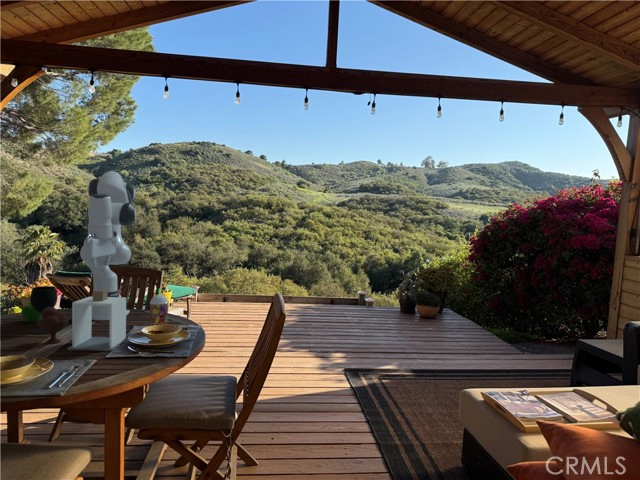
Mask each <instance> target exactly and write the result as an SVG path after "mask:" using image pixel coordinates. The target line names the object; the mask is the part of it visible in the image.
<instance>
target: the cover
mask: <svg viewBox="0 0 640 480" xmlns="http://www.w3.org/2000/svg"><path fill="white" fill-rule="evenodd" d="M92 294H93V295H92V296H88V297H85V298H82V299H79V300H76V301H73V302H72V304H71V305H72V306H71V308H72V311H71V312H72V313H71V315H72V317H71V319H72V328H71V330H72V332H71V334H72V335H71V337H72V339H71V341H72V342H71V343H72V345H71V346H72V347H75V346H77V345H79V344H81V343H83V342H85V341H87V340H88V339H90V338H91V337H92V306H110V320H109V331H108V332H109V335H108V336H109V348H112V347H114V346H115V345H117V344H119V343H120V342H122V341H123V340H124V339H125V338H127V315H126V310H127V297H120V296H119V297H108V290H95V291H94V290H93V291H92Z"/></svg>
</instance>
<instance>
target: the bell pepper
mask: <svg viewBox="0 0 640 480" xmlns="http://www.w3.org/2000/svg"><path fill="white" fill-rule="evenodd" d="M25 304H26V306H22V308H21V315H22V318H23V321H24V322H25V323H27V324H30V323H38V321H39V320H41V319H42V316H41V313H40V312H38V311H36V310H35V309H34V308H33V307H32V305H31V302H30V301H27V302H25Z"/></svg>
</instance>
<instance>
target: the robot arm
mask: <svg viewBox="0 0 640 480" xmlns="http://www.w3.org/2000/svg"><path fill="white" fill-rule="evenodd" d="M87 193H88V197H89V199H88V207H87V208H86V219H87V220H88V224H87V236H86V238H85V239H84V242H83V245H82V247H81V248H80V251H79V252H80V253H79V256H80V258H81V260H82V261H83V262H84V263H85V264H86V265H87V266H88V267H89V269H90V271H91V273H92V278H93V291H95V290H108V297H120V294H121V292H122V291H121V290H122V289H118V275H117V274H116V273H115V272H114V271H112V270H111V268H110V267H109V266H110V265H115V266H116V265H117V266H118V265H122V264H127V263H128V262H129V261H130V259H131V257H132V252H131V249H130V246H128V245H127V244H126V243H125V241H124V240H123V238H122V233H121V231H122V226H126V227H130V226H131V225H133V224H134V223H135V222H136V219H137V210H136V208H135V205H134V202H133V201H134V199H135V198H136V195H137V190H136V187H135V185H134V184H133V183H130V182H127V181H126V182H125V181H124V179H123V177H122V176H121V174H120V173H118V172H117V171H113V170H110V171H105V173H103V174H102V175H101V176H100V178H99V177H97V178H92V179H91V180H90V181H89V183H88V186H87ZM92 296H93V293H92ZM130 311H131V310H130V309H126V316H128V315H129V313H130ZM92 320H93V321H110V306H92Z"/></svg>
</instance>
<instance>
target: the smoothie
mask: <svg viewBox="0 0 640 480" xmlns="http://www.w3.org/2000/svg"><path fill="white" fill-rule="evenodd" d="M169 302H170V301H169V300H168V297H167V296H165V295H164V294H161V288H158V294H155V295H154V296H152V298H151V300H150V301H149V308H150V309H149V311H150V327H151V326H153V325H162V324H167V325H168V316H169V314H168V313H169Z"/></svg>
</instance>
